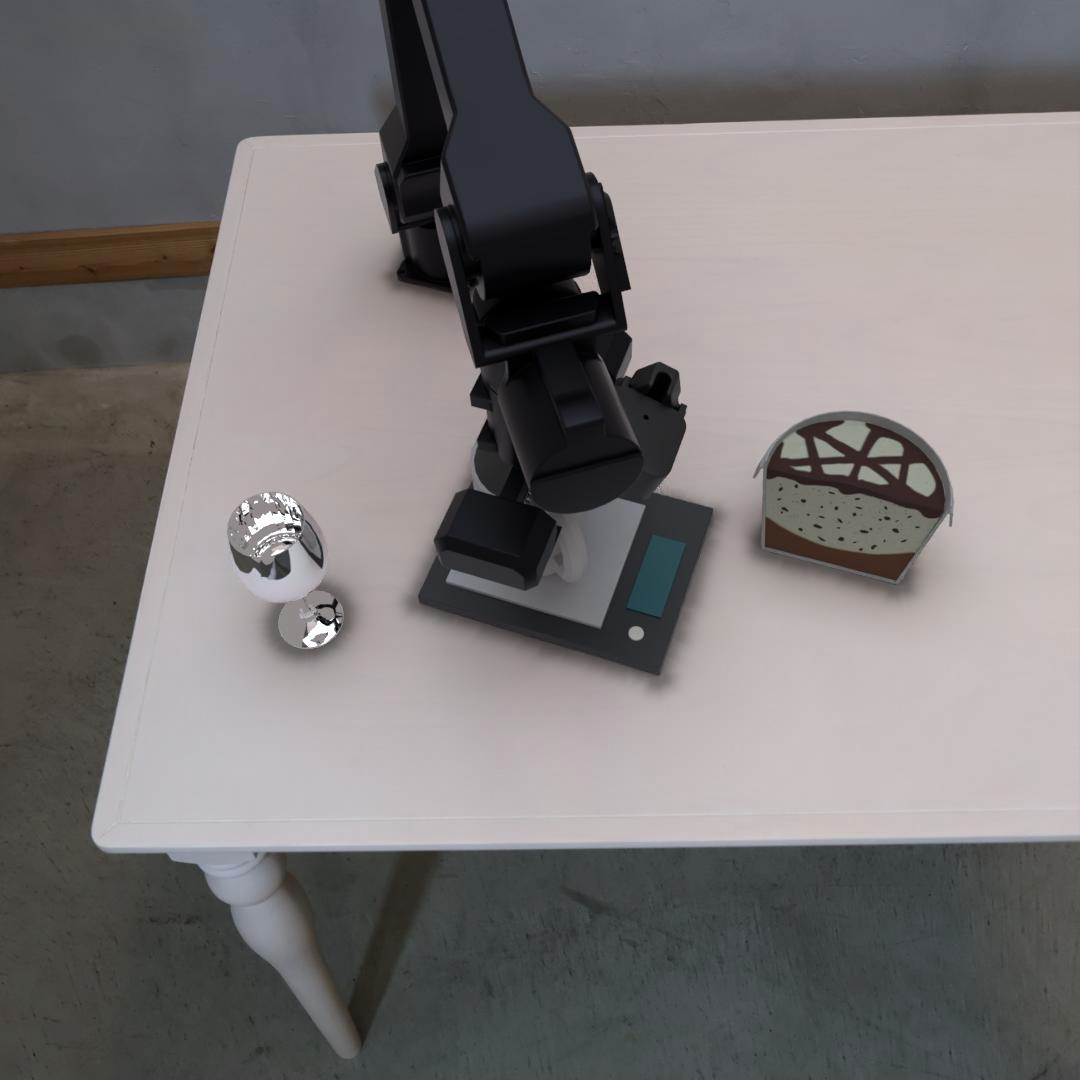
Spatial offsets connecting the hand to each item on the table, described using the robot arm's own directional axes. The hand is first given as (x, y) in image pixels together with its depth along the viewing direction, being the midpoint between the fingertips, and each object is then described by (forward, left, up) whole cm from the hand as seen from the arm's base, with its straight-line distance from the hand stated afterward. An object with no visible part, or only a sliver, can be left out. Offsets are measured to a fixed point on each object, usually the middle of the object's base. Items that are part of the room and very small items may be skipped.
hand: (545, 517), depth 75 cm
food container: (+19, +8, -5) cm, 21 cm away
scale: (+2, 0, -4) cm, 5 cm away
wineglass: (-13, -10, -5) cm, 17 cm away
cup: (0, -1, -3) cm, 3 cm away
